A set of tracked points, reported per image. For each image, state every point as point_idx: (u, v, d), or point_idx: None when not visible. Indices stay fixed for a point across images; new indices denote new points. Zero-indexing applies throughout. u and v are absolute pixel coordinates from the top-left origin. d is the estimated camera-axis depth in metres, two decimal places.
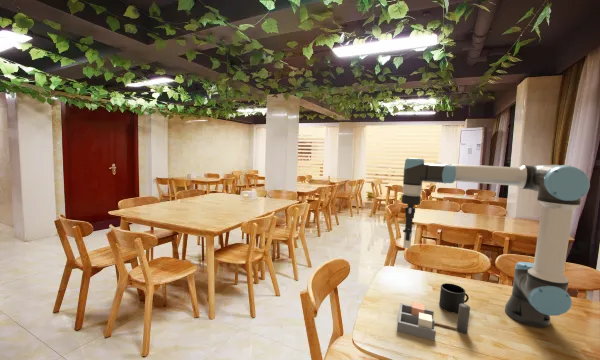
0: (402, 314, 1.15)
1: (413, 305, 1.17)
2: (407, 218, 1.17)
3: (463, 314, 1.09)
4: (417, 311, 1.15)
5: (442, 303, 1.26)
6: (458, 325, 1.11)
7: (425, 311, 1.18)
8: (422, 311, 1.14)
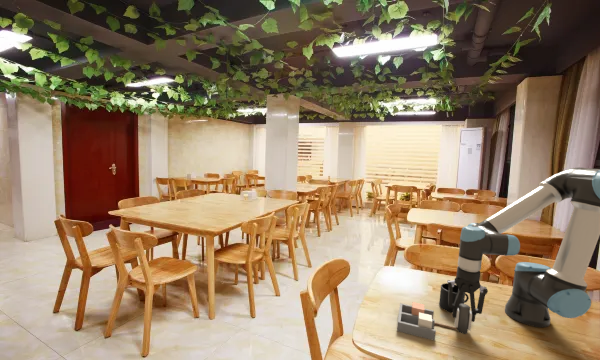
0: (402, 314, 1.15)
1: (413, 305, 1.17)
2: None
3: (463, 314, 1.09)
4: (417, 311, 1.15)
5: (442, 303, 1.26)
6: (458, 325, 1.11)
7: (425, 311, 1.18)
8: (422, 311, 1.14)
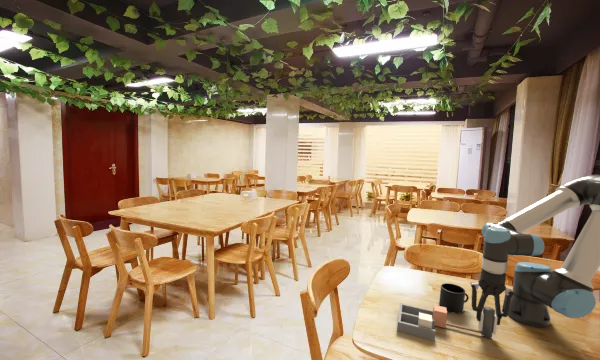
0: (402, 314, 1.15)
1: (435, 308, 1.14)
2: (472, 294, 1.10)
3: (488, 317, 1.06)
4: (439, 314, 1.12)
5: (442, 303, 1.26)
6: (482, 329, 1.08)
7: (425, 311, 1.18)
8: (445, 314, 1.11)
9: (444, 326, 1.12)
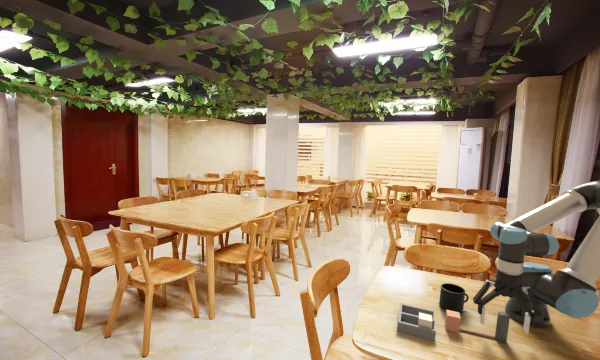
0: (402, 314, 1.15)
1: (448, 313, 1.12)
2: (481, 289, 1.08)
3: (503, 323, 1.04)
4: (452, 319, 1.10)
5: (442, 303, 1.26)
6: (497, 334, 1.06)
7: (425, 311, 1.18)
8: (458, 319, 1.09)
9: (457, 331, 1.10)
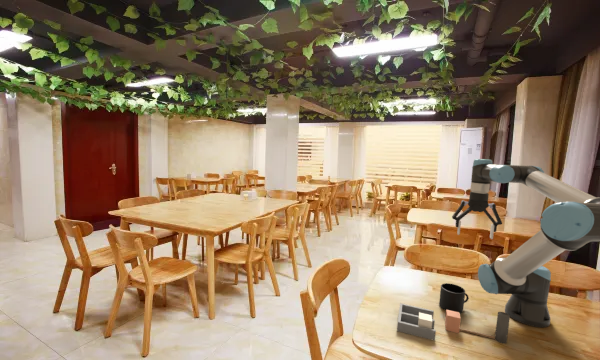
0: (402, 314, 1.15)
1: (448, 313, 1.12)
2: (458, 208, 1.40)
3: (503, 322, 1.04)
4: (452, 319, 1.10)
5: (442, 303, 1.26)
6: (497, 334, 1.06)
7: (425, 311, 1.18)
8: (458, 319, 1.09)
9: (457, 331, 1.10)
